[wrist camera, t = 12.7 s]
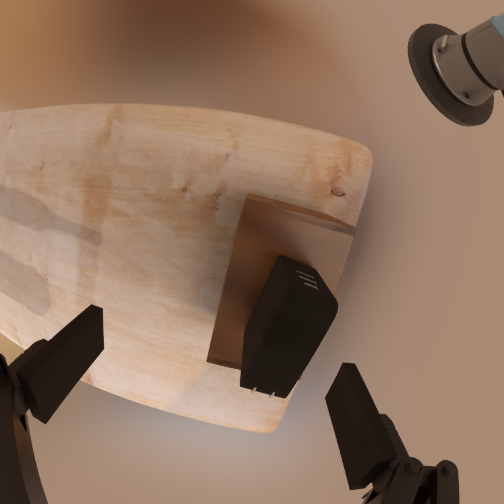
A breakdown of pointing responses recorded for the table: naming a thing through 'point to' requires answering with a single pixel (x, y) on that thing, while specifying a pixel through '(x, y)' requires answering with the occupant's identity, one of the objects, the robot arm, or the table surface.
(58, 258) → the table surface
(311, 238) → the shelf
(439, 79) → the robot arm
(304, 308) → the electronic device
